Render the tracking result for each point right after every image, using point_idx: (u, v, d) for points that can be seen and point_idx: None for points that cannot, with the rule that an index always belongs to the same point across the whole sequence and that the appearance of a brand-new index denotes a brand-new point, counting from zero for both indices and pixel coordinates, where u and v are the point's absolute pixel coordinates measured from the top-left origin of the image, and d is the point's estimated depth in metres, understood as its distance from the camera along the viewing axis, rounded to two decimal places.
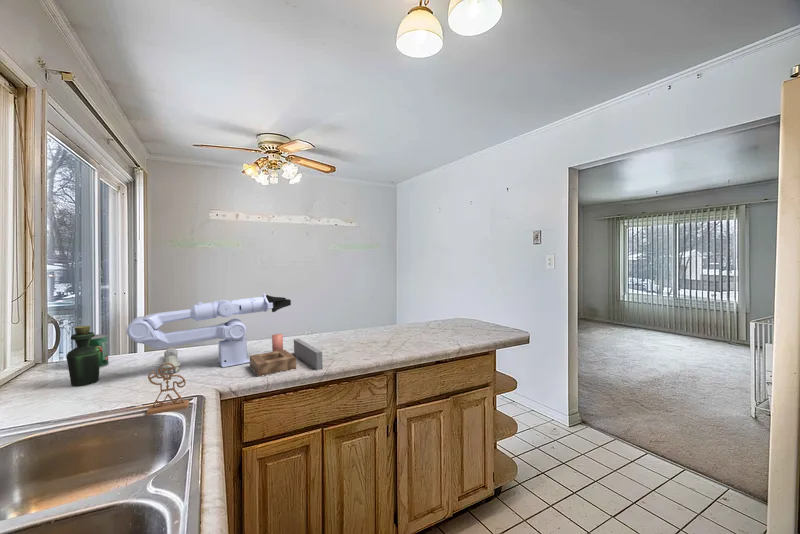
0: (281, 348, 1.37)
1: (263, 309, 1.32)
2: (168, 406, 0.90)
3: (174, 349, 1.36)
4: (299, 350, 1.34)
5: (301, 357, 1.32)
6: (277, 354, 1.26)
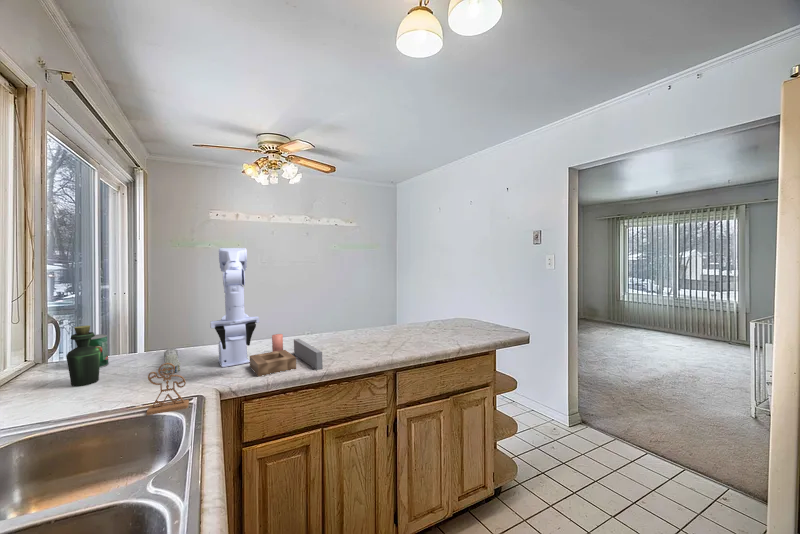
0: (281, 348, 1.37)
1: None
2: (168, 406, 0.90)
3: (174, 349, 1.36)
4: (299, 350, 1.34)
5: (301, 357, 1.32)
6: (277, 354, 1.26)
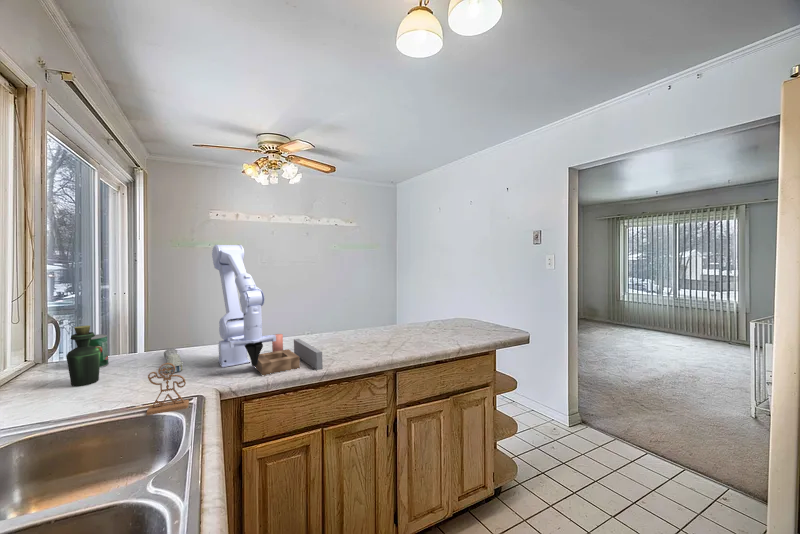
0: (281, 348, 1.37)
1: None
2: (168, 406, 0.90)
3: (173, 349, 1.36)
4: (299, 350, 1.34)
5: (301, 357, 1.32)
6: (281, 353, 1.27)
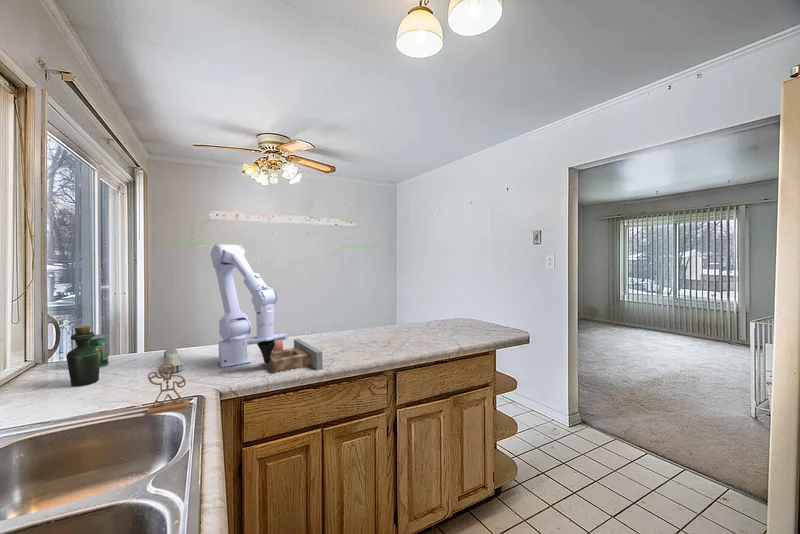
0: (281, 348, 1.37)
1: None
2: (168, 406, 0.90)
3: (174, 349, 1.36)
4: None
5: None
6: (291, 351, 1.29)
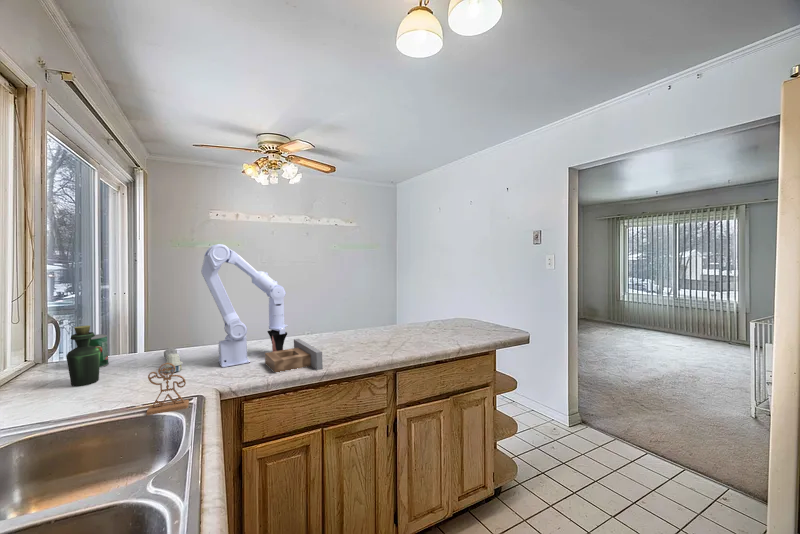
0: None
1: (273, 325, 1.35)
2: (168, 406, 0.90)
3: (173, 349, 1.36)
4: None
5: None
6: (291, 351, 1.29)
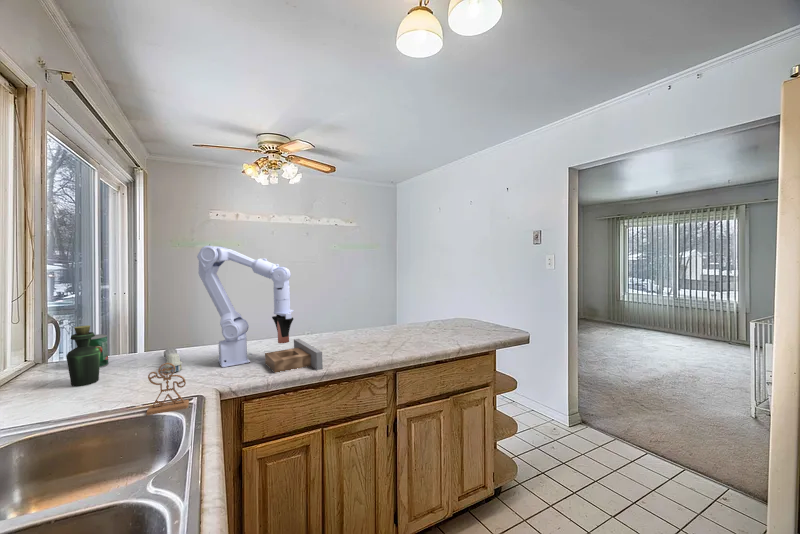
0: None
1: (279, 310, 1.27)
2: (168, 406, 0.90)
3: (173, 349, 1.37)
4: None
5: None
6: (291, 351, 1.29)
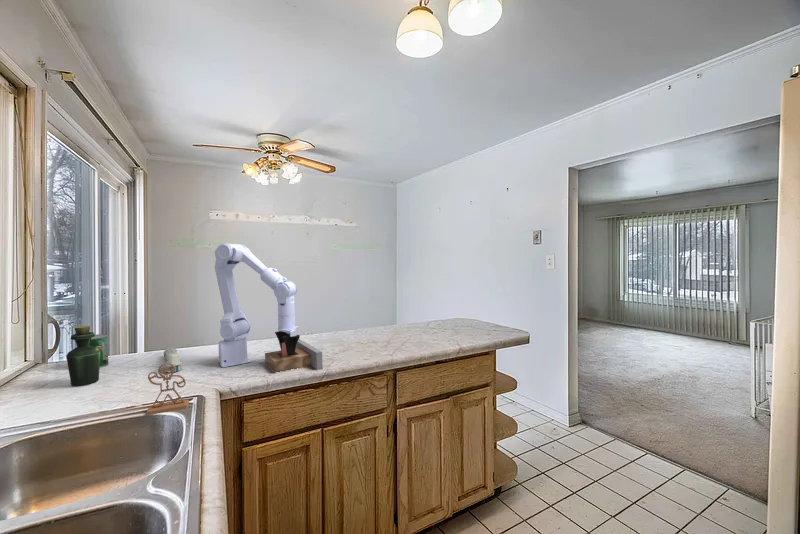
0: None
1: (283, 327, 1.22)
2: (168, 406, 0.90)
3: (173, 348, 1.37)
4: None
5: None
6: None
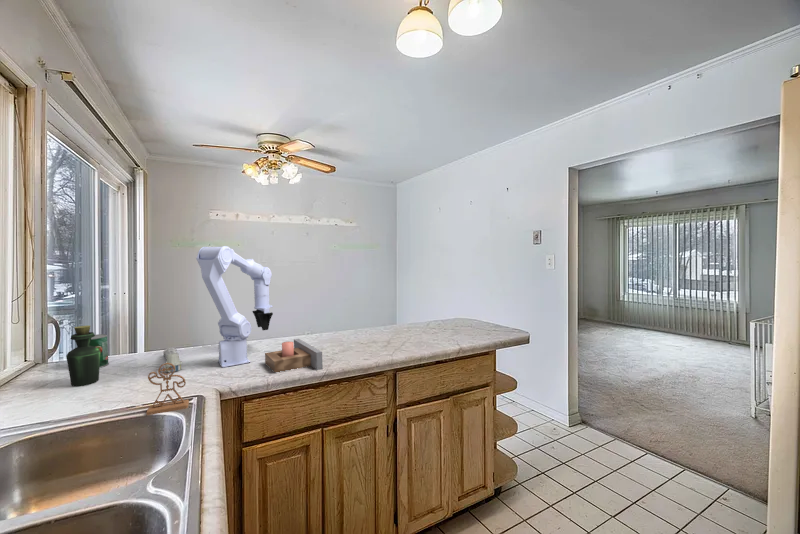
0: None
1: (258, 305, 1.41)
2: (168, 406, 0.90)
3: (173, 348, 1.37)
4: None
5: None
6: None
